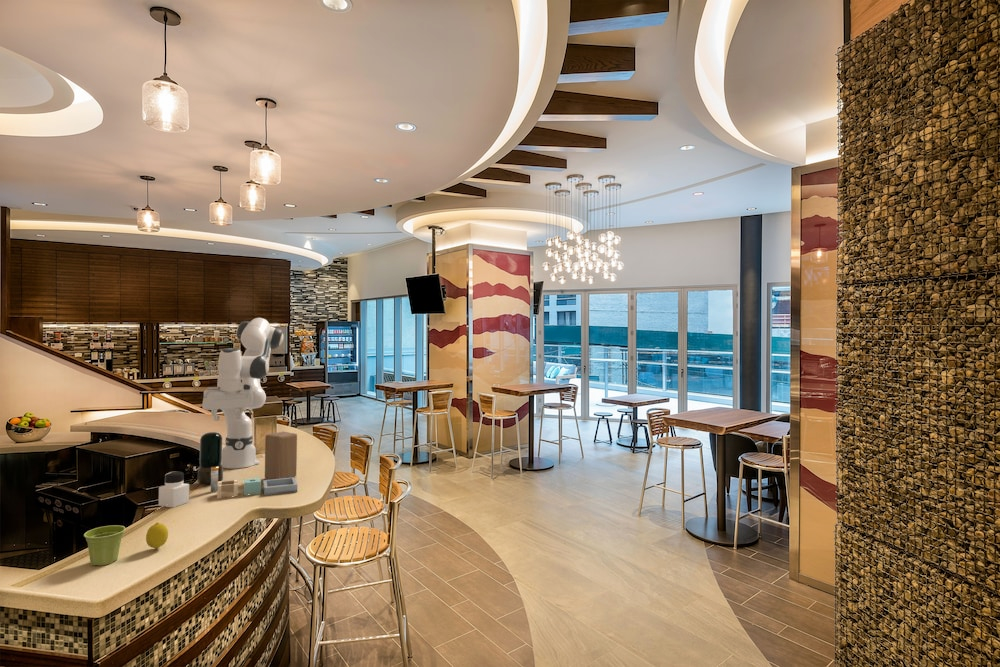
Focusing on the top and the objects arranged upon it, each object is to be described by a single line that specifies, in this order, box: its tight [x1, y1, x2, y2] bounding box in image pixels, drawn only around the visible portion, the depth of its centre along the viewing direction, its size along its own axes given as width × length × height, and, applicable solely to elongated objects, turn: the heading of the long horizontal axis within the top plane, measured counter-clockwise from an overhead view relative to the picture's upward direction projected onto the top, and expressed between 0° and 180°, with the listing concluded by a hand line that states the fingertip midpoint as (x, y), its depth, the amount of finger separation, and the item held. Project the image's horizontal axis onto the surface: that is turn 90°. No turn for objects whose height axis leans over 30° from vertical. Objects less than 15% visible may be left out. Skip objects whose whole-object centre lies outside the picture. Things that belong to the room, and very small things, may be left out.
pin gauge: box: [210, 466, 218, 493], centre depth 214 cm, size 3×3×10 cm
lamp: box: [197, 431, 224, 486], centre depth 225 cm, size 10×10×22 cm
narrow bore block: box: [243, 477, 262, 496], centre depth 213 cm, size 6×6×5 cm
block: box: [264, 431, 298, 480], centre depth 235 cm, size 10×10×20 cm
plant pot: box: [83, 524, 127, 566], centre depth 147 cm, size 9×9×9 cm
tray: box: [262, 476, 298, 496], centre depth 217 cm, size 12×12×3 cm
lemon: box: [145, 522, 169, 550], centre depth 156 cm, size 6×6×8 cm
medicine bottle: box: [158, 470, 190, 508], centre depth 197 cm, size 7×7×12 cm
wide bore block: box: [216, 479, 238, 499], centre depth 209 cm, size 7×7×5 cm
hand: (227, 419), depth 219 cm, fingers open, 8 cm apart
